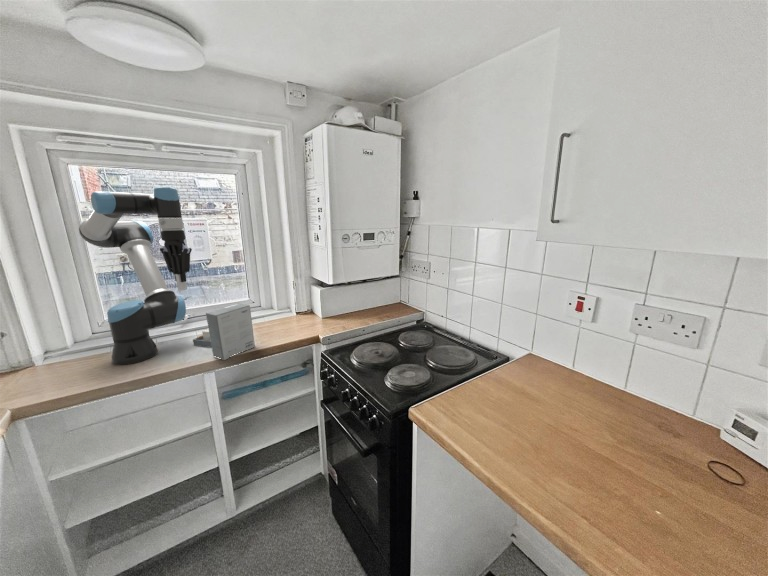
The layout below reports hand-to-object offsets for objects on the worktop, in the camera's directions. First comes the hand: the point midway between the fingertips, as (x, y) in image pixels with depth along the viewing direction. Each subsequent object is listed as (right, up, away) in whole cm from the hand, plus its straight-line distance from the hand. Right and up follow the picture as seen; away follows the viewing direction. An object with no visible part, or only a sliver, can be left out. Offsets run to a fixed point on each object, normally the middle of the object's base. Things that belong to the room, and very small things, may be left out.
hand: (182, 289), depth 119 cm
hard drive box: (+15, -28, +12) cm, 34 cm away
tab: (-1, -23, +21) cm, 31 cm away
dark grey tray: (+1, -24, +27) cm, 36 cm away
